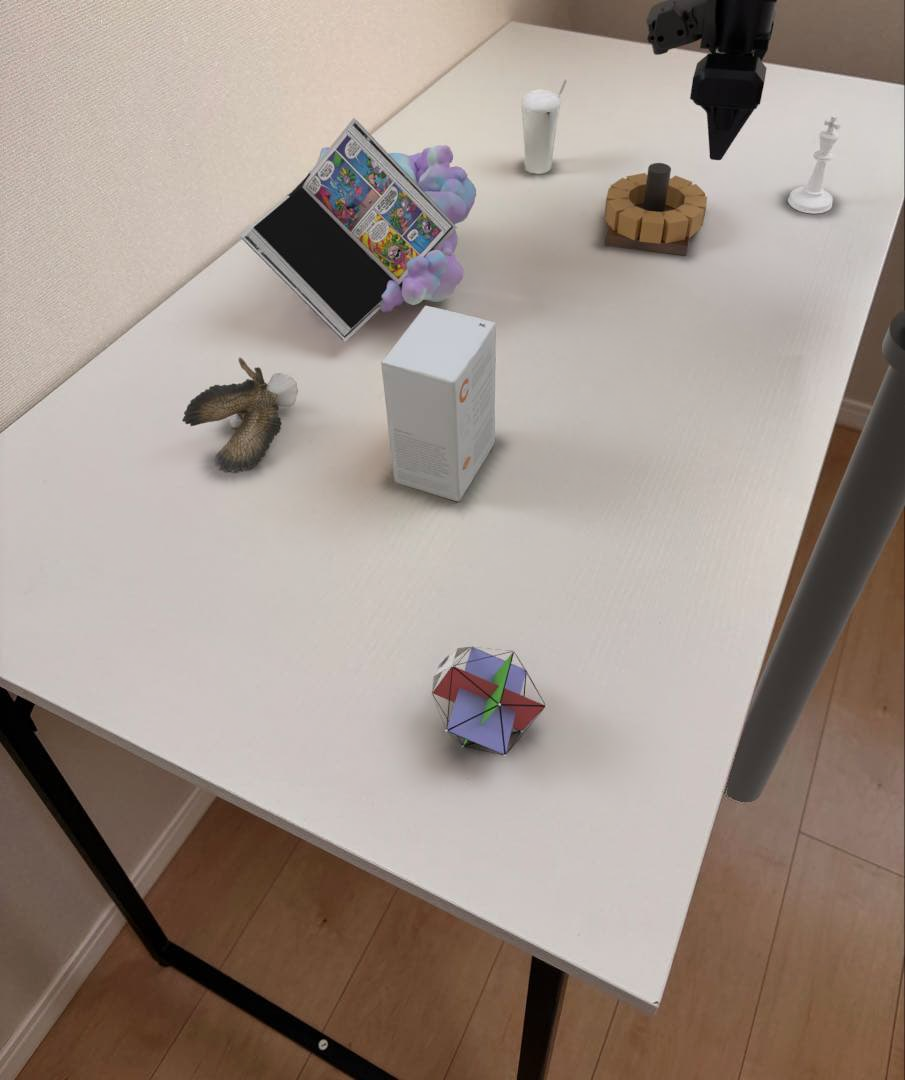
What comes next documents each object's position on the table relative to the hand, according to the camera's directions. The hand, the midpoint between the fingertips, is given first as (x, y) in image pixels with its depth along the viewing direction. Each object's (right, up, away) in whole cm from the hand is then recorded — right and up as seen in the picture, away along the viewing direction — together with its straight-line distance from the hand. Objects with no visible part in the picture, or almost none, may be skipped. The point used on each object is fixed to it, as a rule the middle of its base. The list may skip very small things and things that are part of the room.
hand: (719, 138), depth 95 cm
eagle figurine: (-45, -32, -11) cm, 56 cm away
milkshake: (-16, +5, +20) cm, 26 cm away
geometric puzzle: (-25, -54, -31) cm, 67 cm away
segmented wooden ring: (-5, -5, +10) cm, 12 cm away
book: (-35, -14, +4) cm, 38 cm away
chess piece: (+14, -2, +13) cm, 20 cm away
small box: (-28, -34, -14) cm, 46 cm away
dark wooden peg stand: (-5, -6, +10) cm, 13 cm away
